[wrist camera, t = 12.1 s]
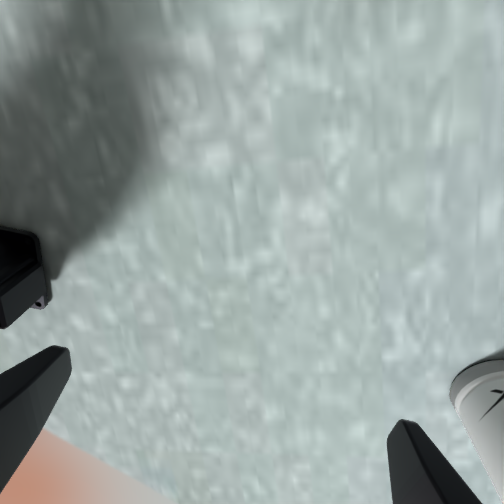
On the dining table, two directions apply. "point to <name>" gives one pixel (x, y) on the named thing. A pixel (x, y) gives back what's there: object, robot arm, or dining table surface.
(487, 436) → the travel mug
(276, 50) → the dining table surface
